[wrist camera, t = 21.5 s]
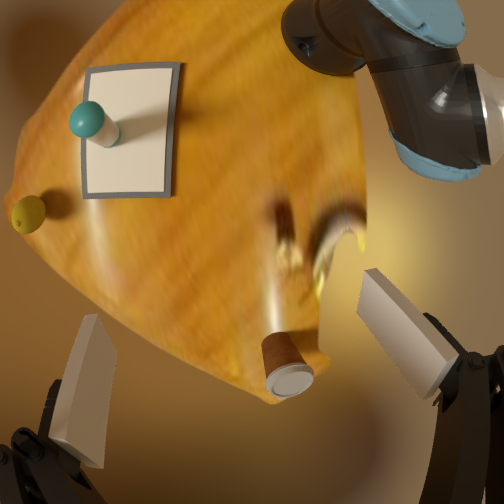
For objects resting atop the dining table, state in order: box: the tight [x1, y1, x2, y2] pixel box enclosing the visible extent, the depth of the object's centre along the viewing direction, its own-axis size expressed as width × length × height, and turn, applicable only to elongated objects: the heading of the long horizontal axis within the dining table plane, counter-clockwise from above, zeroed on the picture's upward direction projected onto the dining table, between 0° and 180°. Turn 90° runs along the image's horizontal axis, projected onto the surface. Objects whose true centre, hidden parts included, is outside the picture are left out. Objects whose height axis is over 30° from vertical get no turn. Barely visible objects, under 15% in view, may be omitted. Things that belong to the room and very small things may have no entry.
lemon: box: [11, 195, 46, 234], centre depth 31 cm, size 6×6×8 cm
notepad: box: [81, 62, 181, 199], centre depth 33 cm, size 14×20×1 cm
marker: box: [69, 101, 121, 148], centre depth 27 cm, size 4×4×12 cm
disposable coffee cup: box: [262, 332, 314, 398], centre depth 53 cm, size 10×10×12 cm
